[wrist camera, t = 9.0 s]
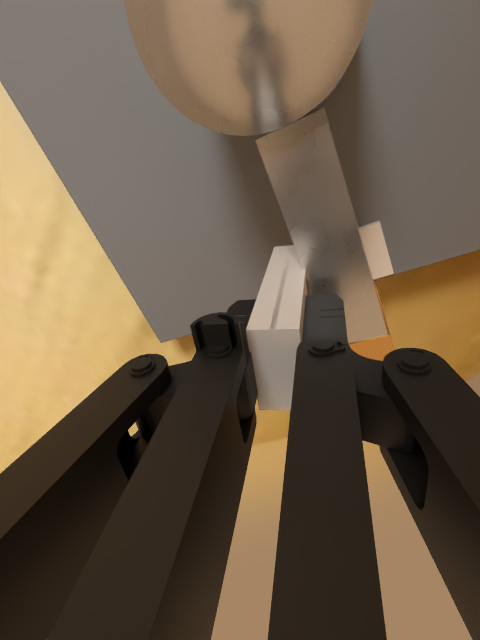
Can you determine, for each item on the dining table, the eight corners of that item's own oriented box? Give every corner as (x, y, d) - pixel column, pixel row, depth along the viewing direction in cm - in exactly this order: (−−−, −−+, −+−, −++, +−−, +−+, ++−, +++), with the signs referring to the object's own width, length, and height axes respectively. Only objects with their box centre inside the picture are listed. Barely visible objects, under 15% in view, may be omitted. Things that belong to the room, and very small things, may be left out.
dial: (170, -15, 13) (75, -86, 8) (329, -129, 11) (330, -319, 6) (302, 321, 19) (293, 397, 14) (423, 290, 17) (463, 367, 12)
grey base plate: (-73, -94, 16) (-131, -123, 14) (677, -997, 7) (823, -1457, 5) (172, 326, 24) (158, 345, 22) (640, 181, 15) (686, 192, 13)
